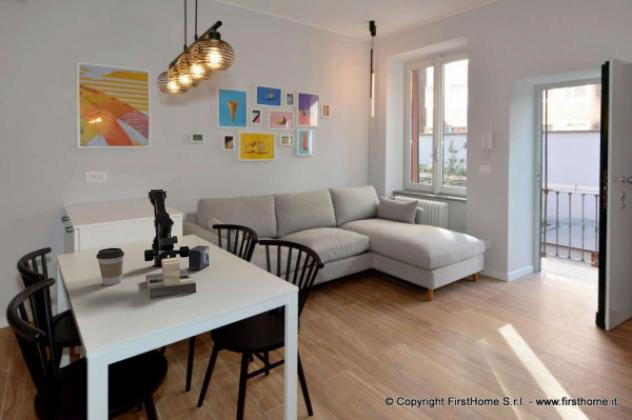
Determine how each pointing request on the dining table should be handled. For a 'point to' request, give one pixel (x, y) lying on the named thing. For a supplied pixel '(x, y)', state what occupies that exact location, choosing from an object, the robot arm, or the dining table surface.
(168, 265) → the birch block
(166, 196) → the robot arm
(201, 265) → the small box
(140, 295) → the dining table surface
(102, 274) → the coffee cup
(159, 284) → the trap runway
